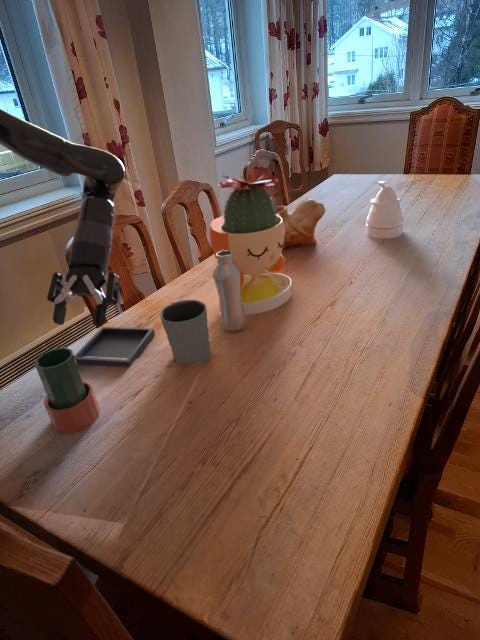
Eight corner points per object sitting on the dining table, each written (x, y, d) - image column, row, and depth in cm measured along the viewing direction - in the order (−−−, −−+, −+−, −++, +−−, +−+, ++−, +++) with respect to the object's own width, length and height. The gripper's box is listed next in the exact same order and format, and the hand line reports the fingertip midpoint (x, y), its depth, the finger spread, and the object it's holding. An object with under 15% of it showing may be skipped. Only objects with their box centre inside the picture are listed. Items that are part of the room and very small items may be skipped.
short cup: (44, 433, 81) (34, 409, 78) (70, 402, 89) (61, 379, 86) (85, 437, 79) (76, 412, 76) (108, 405, 87) (100, 382, 84)
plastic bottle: (247, 332, 105) (239, 256, 96) (220, 335, 106) (209, 259, 96) (247, 320, 111) (238, 246, 101) (221, 322, 111) (210, 249, 102)
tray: (73, 365, 101) (71, 358, 100) (104, 333, 113) (102, 326, 112) (130, 369, 97) (128, 361, 96) (155, 335, 109) (153, 328, 108)
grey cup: (221, 349, 100) (215, 304, 94) (195, 373, 93) (186, 325, 87) (188, 340, 105) (180, 296, 100) (160, 361, 98) (150, 316, 92)
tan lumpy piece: (332, 242, 154) (332, 200, 146) (262, 255, 150) (258, 213, 142) (317, 231, 166) (316, 192, 158) (252, 243, 162) (248, 203, 154)
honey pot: (359, 235, 157) (361, 185, 148) (375, 225, 165) (377, 177, 156) (393, 240, 149) (397, 187, 140) (408, 229, 157) (412, 179, 149)
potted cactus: (306, 292, 121) (302, 163, 104) (246, 322, 110) (231, 183, 93) (256, 273, 137) (245, 158, 119) (199, 298, 125) (178, 175, 108)
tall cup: (52, 427, 82) (27, 367, 75) (71, 404, 87) (49, 346, 80) (82, 430, 80) (58, 369, 73) (99, 406, 86) (79, 348, 79)
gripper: (49, 240, 85) (33, 318, 81) (113, 238, 82) (99, 320, 78) (72, 255, 93) (57, 328, 89) (131, 254, 89) (120, 330, 85)
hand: (77, 324), depth 83 cm, fingers open, 8 cm apart
